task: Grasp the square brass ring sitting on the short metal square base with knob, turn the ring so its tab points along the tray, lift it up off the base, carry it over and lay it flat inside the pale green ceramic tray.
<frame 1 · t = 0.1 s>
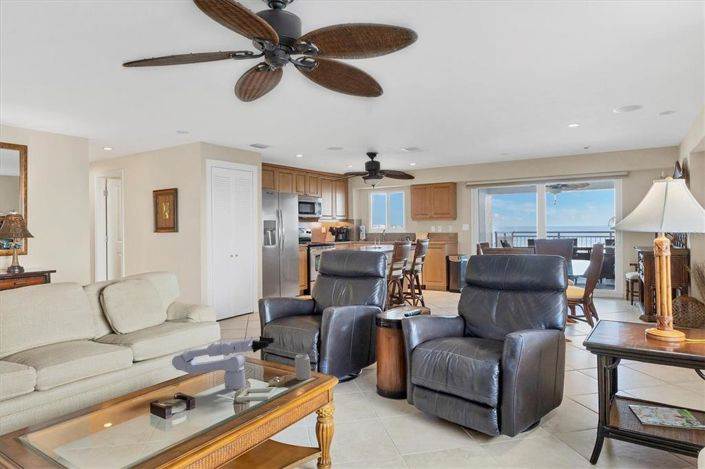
hand: (271, 342, 207), 22 cm above the table, tool horizontal, fingers open, 7 cm apart
can: (304, 379, 214), on the table
square base with knob: (277, 386, 207), on the table
tray: (257, 397, 195), on the table
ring: (277, 384, 207), point 1 cm above the table, touching square base with knob
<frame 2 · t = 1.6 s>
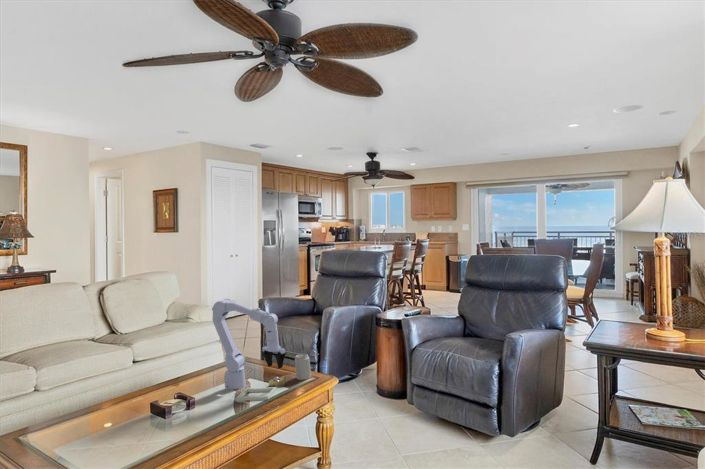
hand: (275, 367, 207), 9 cm above the table, tool pointing down, fingers open, 7 cm apart
nothing on the table moved.
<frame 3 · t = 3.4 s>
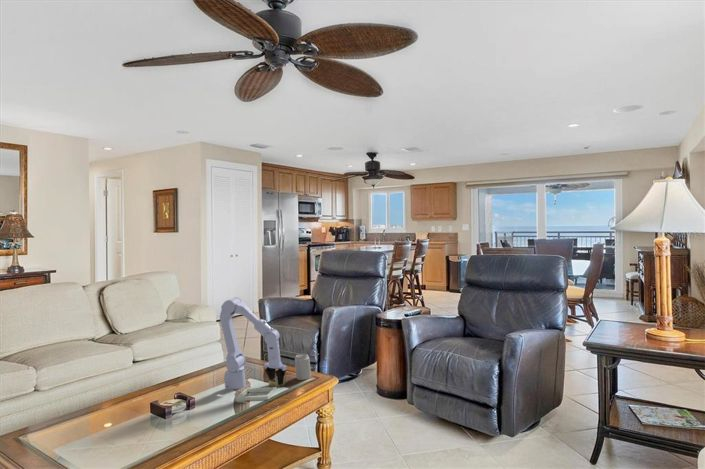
hand: (276, 383, 207), 1 cm above the table, tool pointing down, fingers closed on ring, 5 cm apart
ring: (277, 384, 207), point 1 cm above the table, touching gripper, square base with knob
everything else where it was.
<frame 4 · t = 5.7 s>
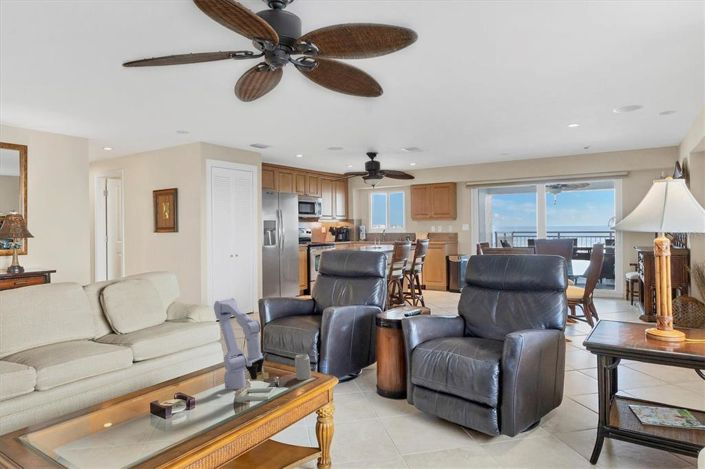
hand: (256, 377, 197), 8 cm above the table, tool pointing down, fingers closed on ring, 5 cm apart
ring: (257, 378, 197), point 8 cm above the table, touching gripper
everything else where it was.
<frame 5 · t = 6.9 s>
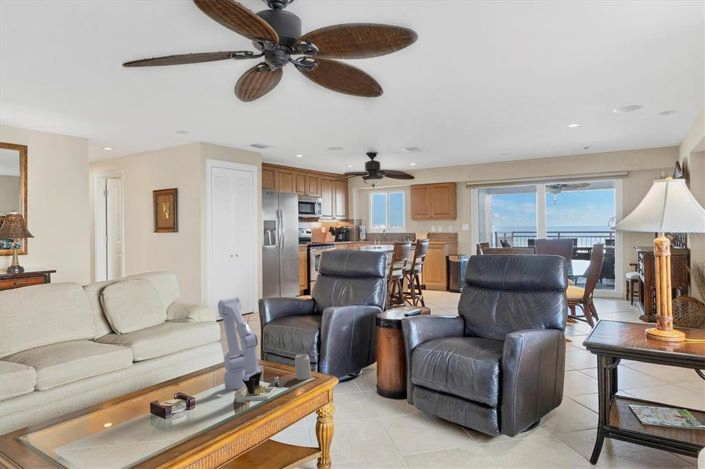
hand: (253, 391, 195), 3 cm above the table, tool pointing down, fingers closed on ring, 5 cm apart
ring: (254, 392, 195), point 2 cm above the table, touching gripper
everything else where it was.
when the fingers open (2 cm above the table, at t = 8.0 s): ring stays where it is, resting on tray.
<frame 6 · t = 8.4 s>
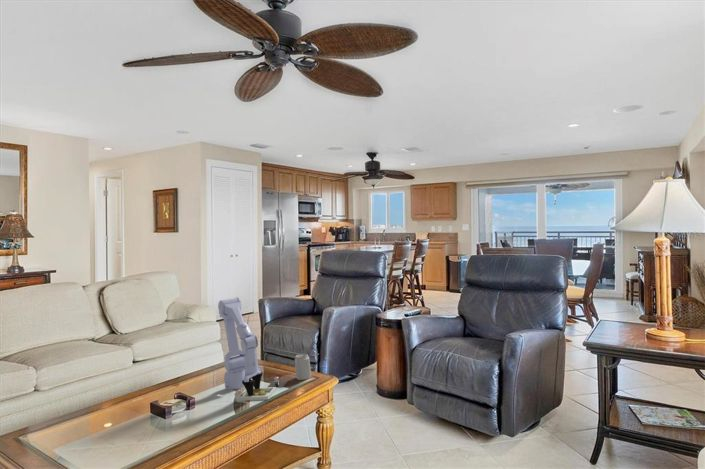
hand: (254, 392, 195), 2 cm above the table, tool pointing down, fingers open, 7 cm apart
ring: (254, 396, 195), resting on tray
everything else where it was.
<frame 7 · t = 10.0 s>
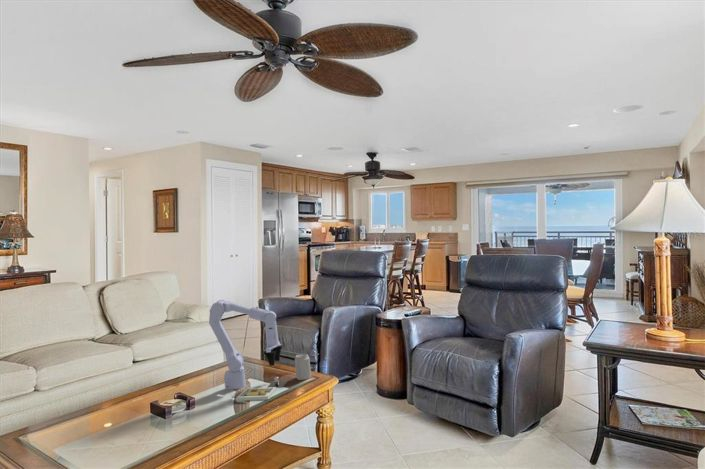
hand: (274, 363, 212), 10 cm above the table, tool pointing down, fingers open, 7 cm apart
nothing on the table moved.
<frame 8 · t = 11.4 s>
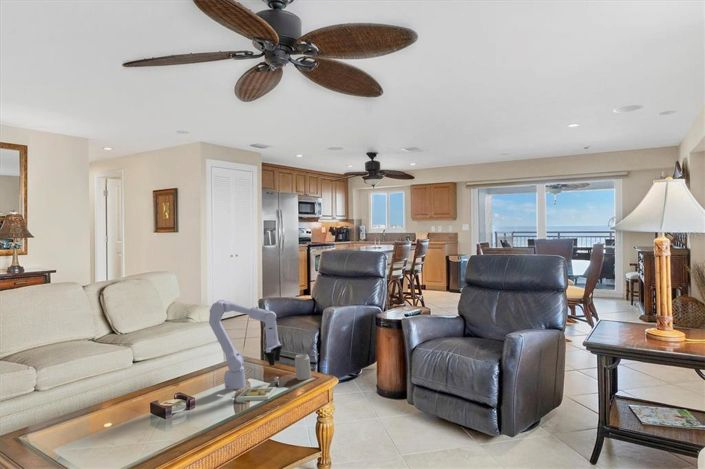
hand: (274, 363, 212), 10 cm above the table, tool pointing down, fingers open, 7 cm apart
nothing on the table moved.
at the end: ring inside the target area on the tray (0.4 cm from its centre), point 0.5 cm above the tray's base; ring tilted 0°; the gripper is holding nothing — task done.
